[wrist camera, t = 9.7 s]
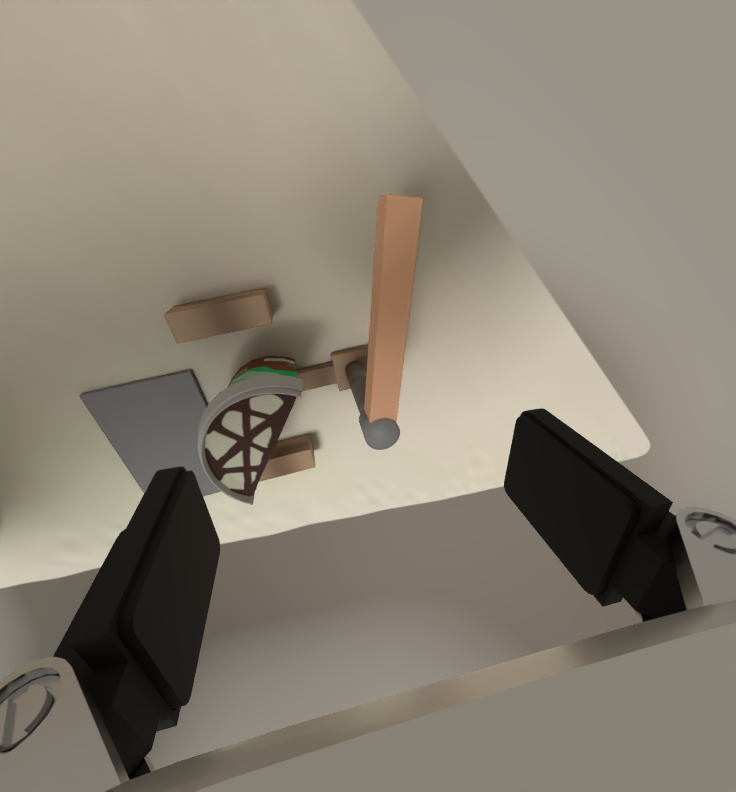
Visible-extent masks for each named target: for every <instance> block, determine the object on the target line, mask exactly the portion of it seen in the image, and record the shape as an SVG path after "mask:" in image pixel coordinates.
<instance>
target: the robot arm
mask: <svg viewBox="0 0 736 792" xmlns="http://www.w3.org/2000/svg"><path fill="white" fill-rule="evenodd" d="M504 488H505V491H506V493H507V495H508V496H509V497H510V498H511V500H512V501H513V502H514V504H515V505H516V506H517V507H518V509H519V510H520V511H521V512H522V513H523V515H524V516H525V517H526V518H527V520H528V521H529V522H530V523H531V525H532V526H533V527H534V528H535V529H536V531H537V532H538V533H539V534H540V536H541V537H542V538H543V539H544V541H545V542H546V543H547V544H548V545H549V547H550V548H551V549H552V551H553V552H554V553H555V554H556V556H557V557H558V558H559V559H560V561H561V562H562V563H563V564H564V566H565V567H566V568H567V569H568V571H569V572H570V573H571V574H572V575H573V577H574V578H575V579H576V580H577V582H578V583H579V584H580V585H581V587H582V588H583V589H584V590H585V591H586V592H587V593H589V594H591V595H594V597H595V598H596V599H597V600H598V602H599V603H600V604H601V605H602V606H607V605H610V604H613V603H617V602H621V600H622V598H623V597H624V598H625V600H626V601H627V602H628V603H629V604H630V607H631V613H632V620H633V625H631V626H628V627H624V628H621V629H617V630H614V631H610V632H607V633H603V634H600V635H596V636H593V637H590V638H586V639H583V640H579V641H576V642H572V643H569V644H566V645H562V646H558V647H555V648H551V649H548V650H544V651H541V652H538V653H534V654H531V655H528V656H524V657H521V658H518V659H514V660H511V661H507V662H504V663H500V664H497V665H493V666H490V667H487V668H483V669H480V670H477V671H473V672H470V673H466V674H463V675H459V676H456V677H453V678H449V679H446V680H443V681H439V682H436V683H432V684H429V685H426V686H423V687H419V688H416V689H412V690H409V691H406V692H402V693H399V694H395V695H392V696H389V697H385V698H382V699H379V700H376V701H372V702H369V703H366V704H362V705H359V706H356V707H353V708H349V709H346V710H342V711H339V712H336V713H333V714H329V715H326V716H322V717H319V718H316V719H312V720H309V721H306V722H302V723H299V724H296V725H292V726H289V727H286V728H282V729H279V730H276V731H272V732H269V733H266V734H264V735H260V736H257V737H254V738H251V739H248V740H245V741H241V742H239V743H236V744H232V745H229V746H226V747H223V748H220V749H216V750H214V751H210V752H207V753H204V754H201V755H198V756H195V757H192V758H189V759H185V760H182V761H180V762H176V763H174V764H171V765H168V766H166V767H163V768H161V769H158V770H155V768H154V766H153V764H152V762H151V760H150V758H149V756H148V753H149V752H150V751H151V749H152V746H153V742H154V738H155V734H156V731H159V730H163V729H167V728H170V727H174V726H177V721H178V717H179V712H180V708H181V706H184V705H186V704H187V703H188V702H189V699H190V697H191V692H192V687H193V683H194V677H195V673H196V668H197V663H198V658H199V653H200V648H201V643H202V638H203V633H204V629H205V624H206V619H207V613H208V608H209V604H210V599H211V594H212V589H213V584H214V579H215V574H216V569H217V564H218V559H219V555H220V542H219V538H218V536H217V533H216V530H215V528H214V525H213V522H212V520H211V517H210V514H209V512H208V509H207V506H206V503H205V501H204V498H203V495H202V493H201V490H200V487H199V485H198V482H197V479H196V477H195V474H194V472H193V471H191V470H190V471H186V469H185V468H184V467H183V466H180V467H174V468H167V469H161V470H158V471H157V472H156V473H155V474H154V476H153V478H152V480H151V482H150V484H149V486H148V488H147V490H146V492H145V494H144V495H143V497H142V499H141V501H140V503H139V505H138V507H137V509H136V511H135V513H134V515H133V516H132V518H131V520H130V522H129V524H128V526H127V528H126V529H125V530H124V531H122V532H121V533H120V534H119V536H118V537H117V539H116V541H115V542H114V544H113V546H112V548H111V550H110V552H109V554H108V555H107V557H106V559H105V561H104V563H103V565H102V567H101V568H100V570H99V572H98V574H97V576H96V578H95V580H94V581H93V583H92V585H91V587H90V589H89V591H88V593H87V595H86V596H85V598H84V600H83V602H82V604H81V606H80V608H79V609H78V611H77V613H76V615H75V617H74V619H73V621H72V622H71V624H70V626H69V628H68V630H67V632H66V634H65V636H64V637H63V639H62V641H61V643H60V645H59V647H58V649H57V650H56V652H55V654H54V656H53V657H49V658H43V659H39V660H36V661H34V662H32V663H29V664H27V665H24V666H22V667H21V668H19V669H17V670H16V671H14V672H13V673H11V674H9V675H8V676H6V677H5V678H4V679H2V680H1V681H0V792H736V520H734V519H732V518H730V517H728V516H726V515H724V514H721V513H718V512H715V511H712V510H709V509H704V508H698V507H687V508H684V509H681V510H679V512H678V513H677V515H676V516H674V515H673V514H672V513H671V512H669V509H670V507H671V505H672V503H673V502H672V501H670V500H669V499H668V498H666V497H665V496H663V495H662V494H661V493H659V492H658V491H657V490H655V489H654V488H653V487H651V486H650V485H648V484H647V483H646V482H644V481H643V480H641V479H640V478H639V477H637V476H636V475H634V474H633V473H632V472H631V471H629V470H628V469H626V468H625V467H624V466H622V465H621V464H620V463H618V462H617V461H615V460H614V459H613V458H611V457H610V456H609V455H607V454H606V453H604V452H603V451H602V450H600V449H599V448H598V447H596V446H595V445H593V444H592V443H591V442H589V441H588V440H587V439H585V438H584V437H583V436H581V435H580V434H578V433H577V432H576V431H574V430H573V429H572V428H570V427H569V426H567V425H566V424H565V423H563V422H562V421H561V420H559V419H558V418H556V417H555V416H554V415H552V414H551V413H550V412H548V411H547V410H545V409H534V410H528V411H524V412H522V414H521V415H520V417H518V418H517V420H516V424H515V429H514V434H513V440H512V445H511V450H510V455H509V460H508V465H507V471H506V476H505V481H504Z"/></svg>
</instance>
